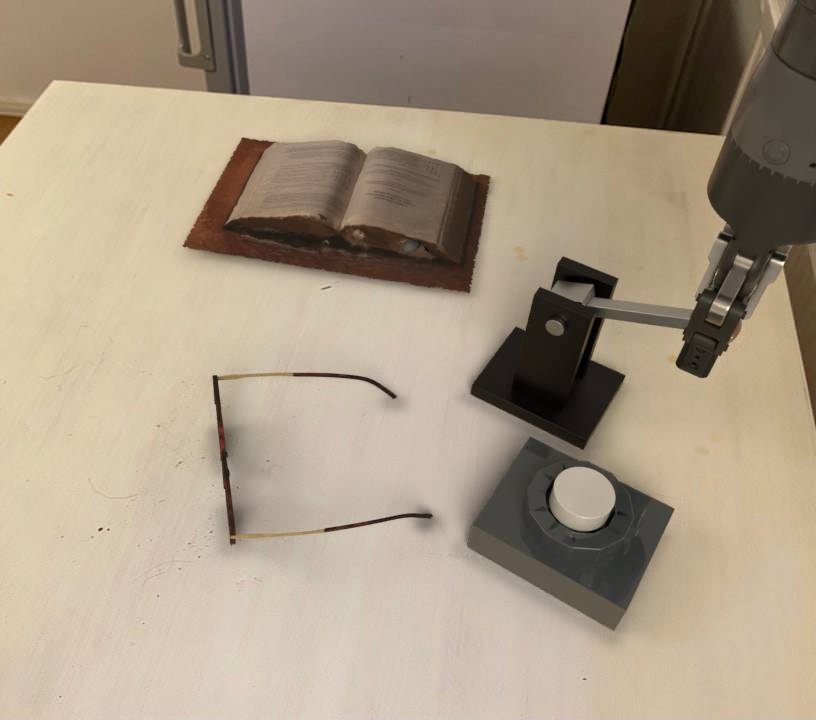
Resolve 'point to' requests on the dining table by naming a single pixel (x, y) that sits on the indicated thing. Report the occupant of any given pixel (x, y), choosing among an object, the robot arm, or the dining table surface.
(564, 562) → the button housing
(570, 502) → the white push button
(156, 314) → the dining table surface
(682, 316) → the flush lever
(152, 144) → the dining table surface
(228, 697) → the dining table surface
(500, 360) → the lever bracket
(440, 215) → the book
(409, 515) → the sunglasses
